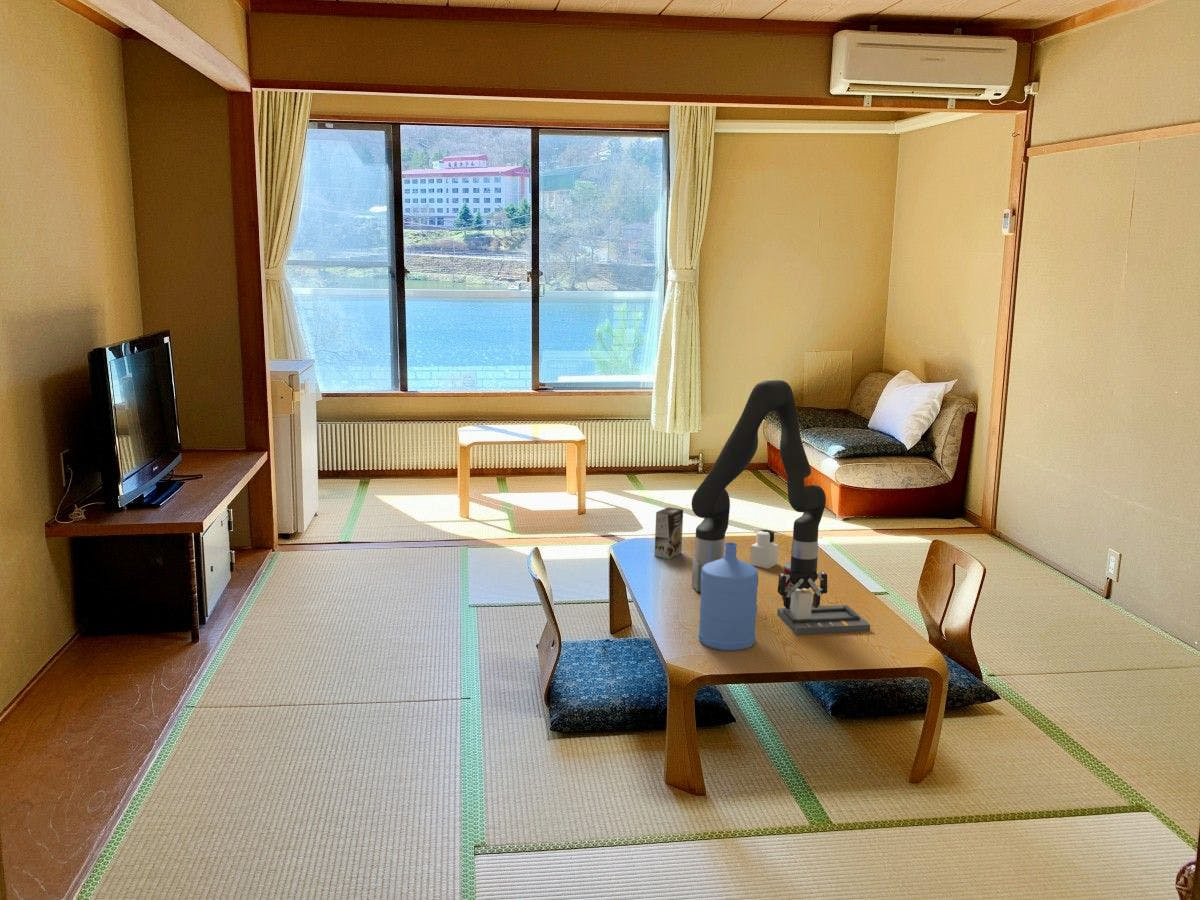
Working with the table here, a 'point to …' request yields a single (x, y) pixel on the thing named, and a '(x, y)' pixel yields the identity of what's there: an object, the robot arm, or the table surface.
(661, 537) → the coffee box
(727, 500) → the robot arm
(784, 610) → the console
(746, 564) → the water jug
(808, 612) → the block
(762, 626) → the table surface
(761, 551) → the medicine bottle
